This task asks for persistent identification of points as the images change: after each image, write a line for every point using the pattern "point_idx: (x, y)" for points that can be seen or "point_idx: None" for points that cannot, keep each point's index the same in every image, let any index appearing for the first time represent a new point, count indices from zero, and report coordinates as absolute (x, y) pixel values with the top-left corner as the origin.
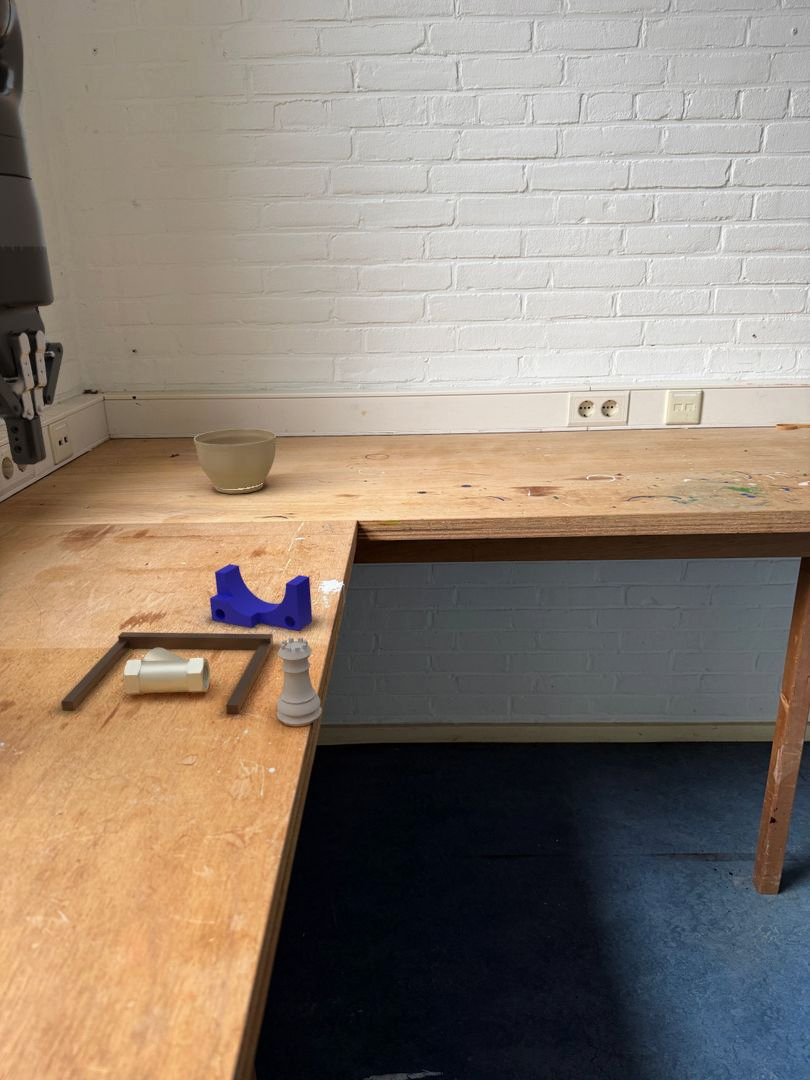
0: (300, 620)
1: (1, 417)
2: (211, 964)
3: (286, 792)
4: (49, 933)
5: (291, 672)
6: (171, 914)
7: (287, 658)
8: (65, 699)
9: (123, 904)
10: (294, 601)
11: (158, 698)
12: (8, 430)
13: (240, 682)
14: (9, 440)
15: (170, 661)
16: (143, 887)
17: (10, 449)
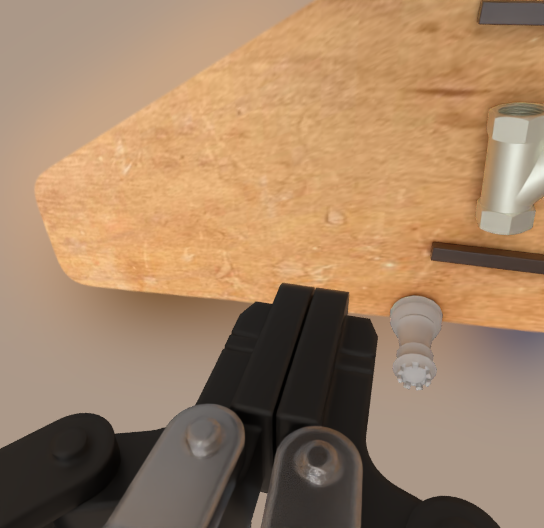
0: None
1: (154, 430)
2: (118, 270)
3: None
4: (111, 164)
5: (397, 351)
6: (146, 241)
7: (395, 362)
8: (489, 7)
9: (147, 207)
10: None
11: None
12: (208, 387)
13: (493, 257)
14: (225, 352)
15: (516, 186)
16: (165, 217)
17: (235, 325)
